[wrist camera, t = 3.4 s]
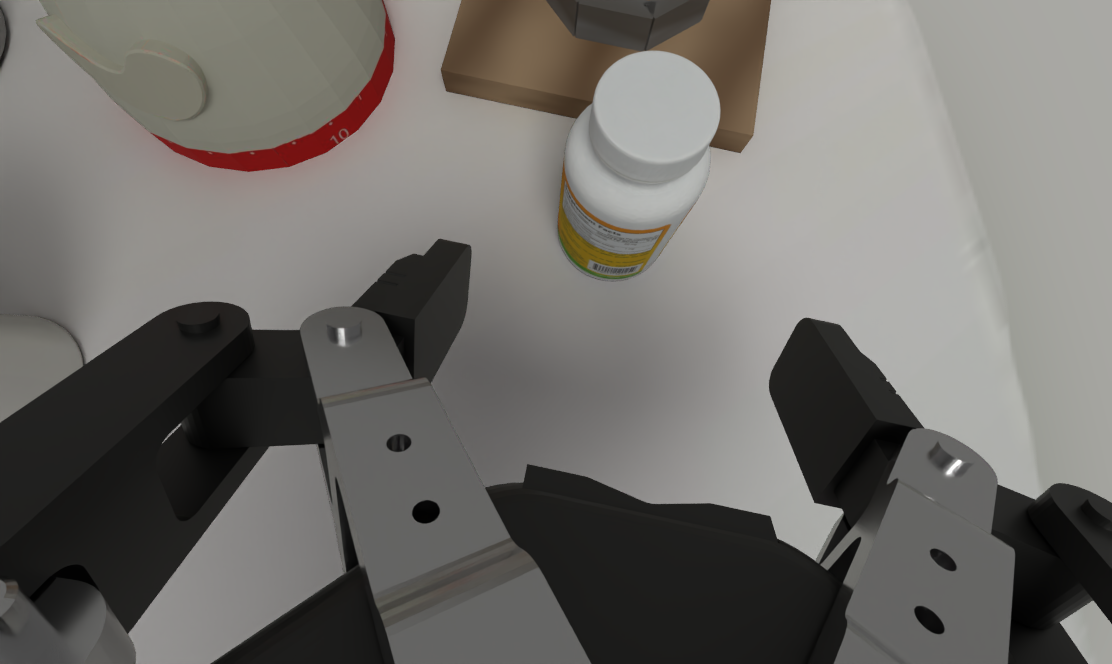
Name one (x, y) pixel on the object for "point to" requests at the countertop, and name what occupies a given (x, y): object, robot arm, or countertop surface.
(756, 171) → the countertop surface
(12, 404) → the beer glass
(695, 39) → the socket board
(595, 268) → the supplement bottle
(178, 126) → the kitchen timer
